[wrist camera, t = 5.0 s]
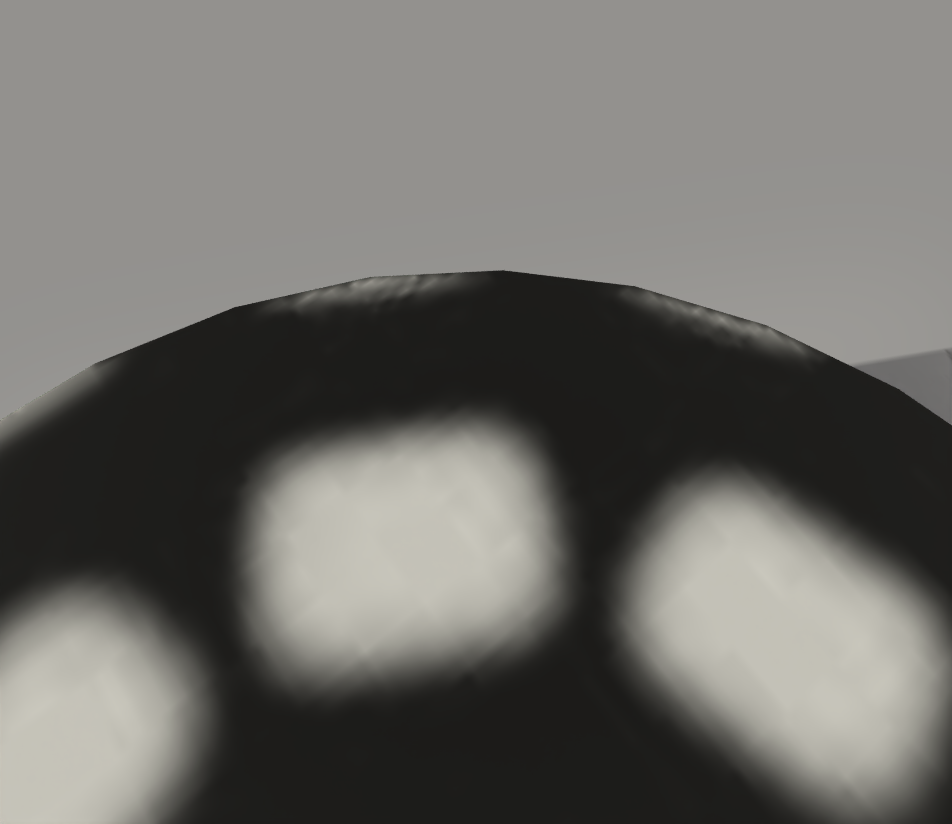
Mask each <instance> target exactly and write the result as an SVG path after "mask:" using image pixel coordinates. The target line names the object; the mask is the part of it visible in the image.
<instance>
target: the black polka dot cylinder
mask: <svg viewBox="0 0 952 824" xmlns="http://www.w3.org/2000/svg"><path fill="white" fill-rule="evenodd" d="M0 824H952V425H950V424H949V423H947V422H946V421H944V420H943V419H942V418H940V417H939V416H937V415H936V414H934V413H933V412H931V411H930V410H928V409H927V408H925V407H924V406H923V405H921V404H920V403H918V402H917V401H915V400H914V399H912V398H911V397H909V396H908V395H906V394H905V393H904V392H902V391H901V390H899V389H897V388H895V387H893V386H891V385H889V384H887V383H885V382H883V381H881V380H879V379H876V378H874V377H872V376H870V375H868V374H866V373H864V372H862V371H860V370H858V369H856V368H854V367H852V366H849V365H847V364H845V363H843V362H841V361H839V360H837V359H835V358H833V357H831V356H829V355H827V354H824V353H823V352H820V351H818V350H816V349H814V348H812V347H810V346H808V345H806V344H804V343H802V342H800V341H798V340H796V339H793V338H791V337H789V336H787V335H785V334H783V333H781V332H779V331H777V330H775V329H773V328H771V327H768V326H766V325H763V324H760V323H757V322H753V321H750V320H746V319H743V318H739V317H736V316H733V315H730V314H726V313H723V312H719V311H716V310H713V309H709V308H706V307H703V306H699V305H696V304H693V303H689V302H686V301H682V300H679V299H676V298H672V297H669V296H665V295H662V294H659V293H655V292H652V291H649V290H645V289H642V288H639V287H635V286H628V285H619V284H611V283H603V282H595V281H586V280H578V279H570V278H562V277H553V276H545V275H537V274H529V273H520V272H512V271H504V270H502V271H482V272H464V273H463V272H462V273H445V274H443V273H442V274H423V275H403V276H383V277H369V278H364V279H360V280H355V281H351V282H346V283H342V284H337V285H333V286H328V287H324V288H319V289H315V290H310V291H306V292H301V293H297V294H293V295H288V296H284V297H279V298H274V299H270V300H265V301H261V302H256V303H252V304H248V305H243V306H239V307H234V308H232V309H229V310H227V311H224V312H222V313H220V314H217V315H215V316H212V317H210V318H207V319H205V320H202V321H200V322H197V323H195V324H193V325H190V326H187V327H185V328H183V329H180V330H177V331H175V332H173V333H170V334H167V335H165V336H162V337H160V338H157V339H155V340H152V341H150V342H148V343H145V344H143V345H140V346H138V347H135V348H133V349H130V350H128V351H125V352H123V353H120V354H118V355H115V356H113V357H110V358H108V359H105V360H103V361H100V362H98V363H95V364H94V365H92V366H90V367H89V368H87V369H85V370H84V371H82V372H80V373H79V374H77V375H75V376H74V377H72V378H70V379H68V380H67V381H65V382H63V383H62V384H60V385H59V386H57V387H55V388H53V389H52V390H50V391H48V392H47V393H45V394H43V395H42V396H40V397H38V398H37V399H35V400H33V401H32V402H30V403H28V404H26V405H25V406H23V407H22V408H20V409H18V410H16V411H15V412H13V413H11V414H10V415H8V416H7V417H5V418H3V419H1V420H0Z"/></svg>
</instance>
